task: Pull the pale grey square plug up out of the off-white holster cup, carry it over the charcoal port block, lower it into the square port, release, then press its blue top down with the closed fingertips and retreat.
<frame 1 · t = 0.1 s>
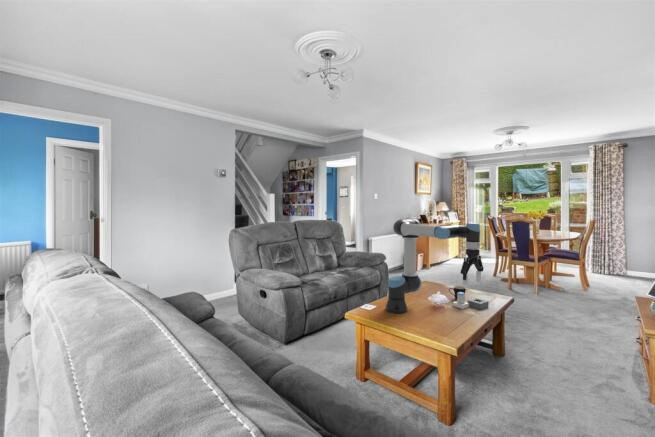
hand: (472, 283, 189), 28 cm above the table, fingers open, 13 cm apart
port block: (477, 307, 228), on the table
coffee mug: (457, 299, 246), on the table
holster: (460, 307, 228), on the table
plug: (460, 306, 228), point 1 cm above the table, touching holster
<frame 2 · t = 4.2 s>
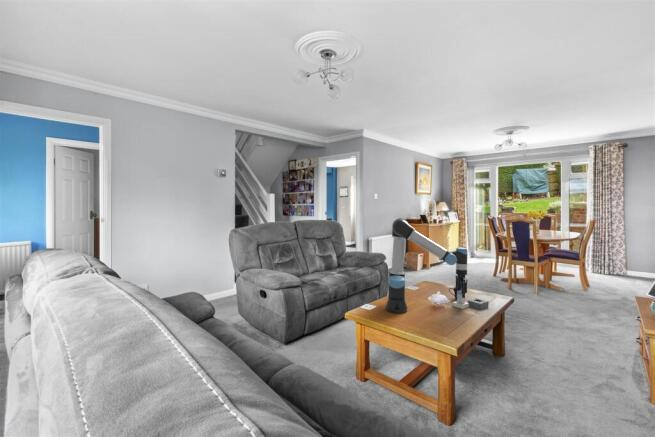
hand: (460, 300, 228), 5 cm above the table, fingers closed on plug, 5 cm apart
plug: (460, 306, 228), point 1 cm above the table, touching gripper, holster
everything else where it was.
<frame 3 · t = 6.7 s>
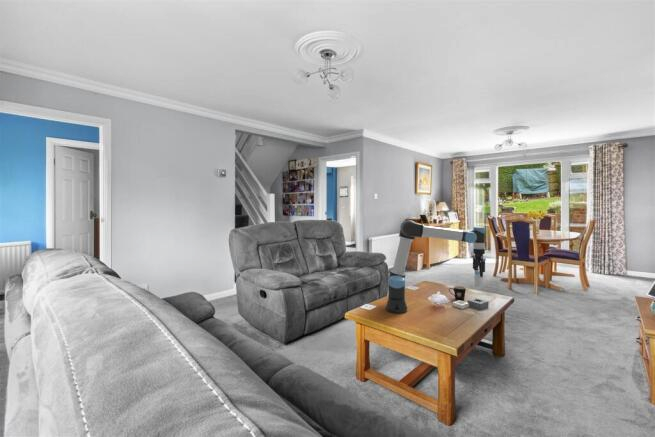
hand: (478, 280, 227), 20 cm above the table, fingers closed on plug, 5 cm apart
plug: (478, 285, 227), point 16 cm above the table, touching gripper
everything else where it was.
when the fingers open (6 cm above the table, at t = 9.3 s): plug drops 2 cm, resting in port block.
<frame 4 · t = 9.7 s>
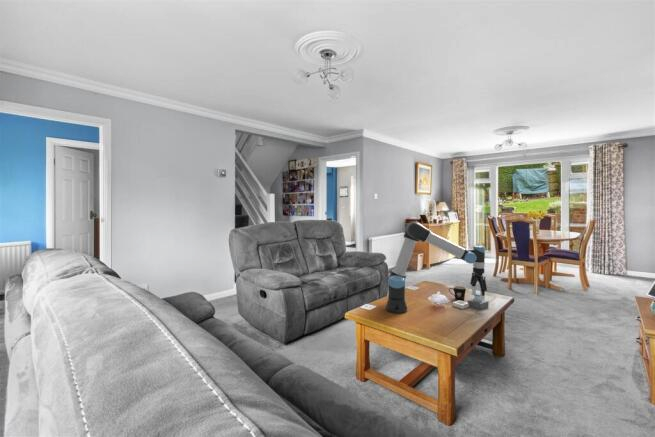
hand: (478, 297, 227), 7 cm above the table, fingers open, 11 cm apart
plug: (477, 307, 228), resting in port block
everything else where it was.
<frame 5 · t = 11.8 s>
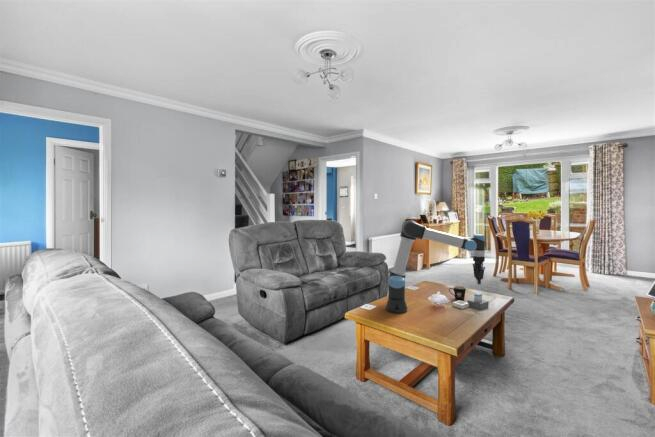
hand: (478, 288, 227), 14 cm above the table, fingers closed
nothing on the table moved.
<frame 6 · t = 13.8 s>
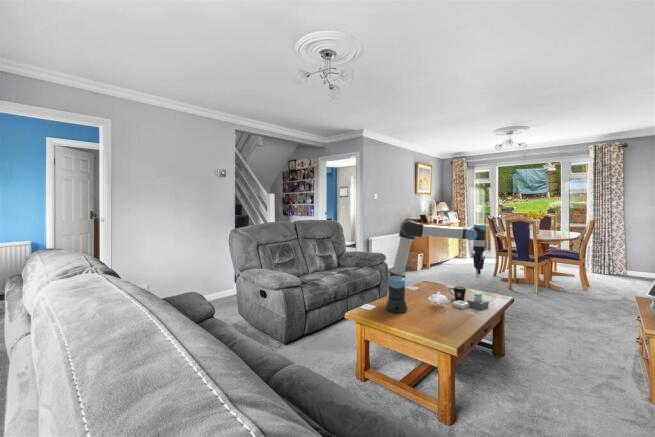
hand: (477, 278, 227), 22 cm above the table, fingers closed
nothing on the table moved.
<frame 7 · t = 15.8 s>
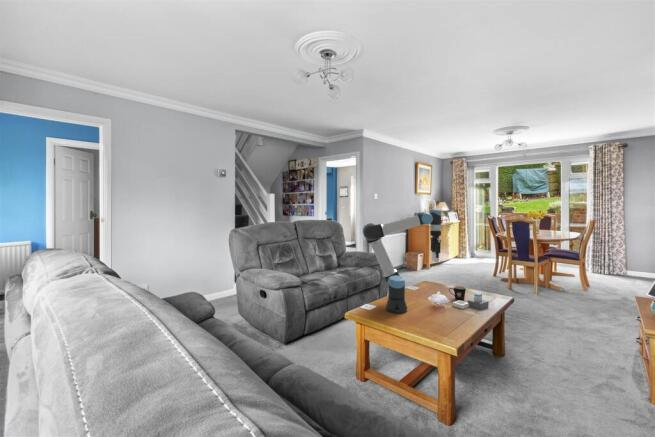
hand: (435, 261, 233), 33 cm above the table, fingers open, 5 cm apart
nothing on the table moved.
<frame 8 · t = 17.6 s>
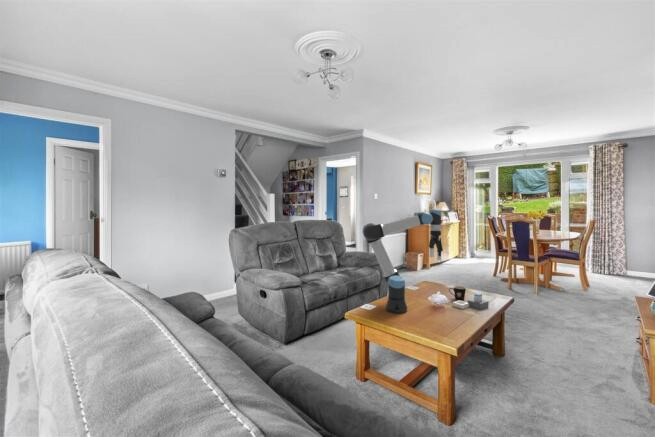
hand: (435, 258, 233), 35 cm above the table, fingers open, 13 cm apart
nothing on the table moved.
at the end: plug 0.0 cm off-centre on the port block, point 0.0 cm above the port block's base; plug tilted 0°; the gripper is holding nothing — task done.
